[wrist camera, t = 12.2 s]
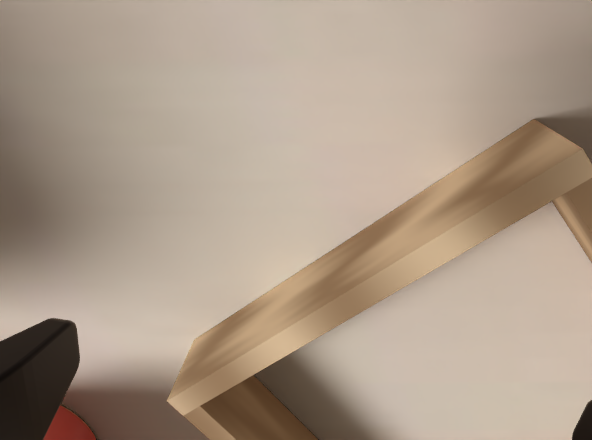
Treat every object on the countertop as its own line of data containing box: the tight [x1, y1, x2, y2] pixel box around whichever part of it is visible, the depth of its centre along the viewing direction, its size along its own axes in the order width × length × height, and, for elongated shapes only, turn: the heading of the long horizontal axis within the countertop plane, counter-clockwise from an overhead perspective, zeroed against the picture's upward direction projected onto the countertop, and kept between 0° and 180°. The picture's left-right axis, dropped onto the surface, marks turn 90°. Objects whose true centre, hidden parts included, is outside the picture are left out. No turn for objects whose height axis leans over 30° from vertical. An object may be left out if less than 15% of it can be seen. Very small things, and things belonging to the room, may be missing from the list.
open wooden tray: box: [167, 119, 592, 440], centre depth 21 cm, size 18×18×4 cm
